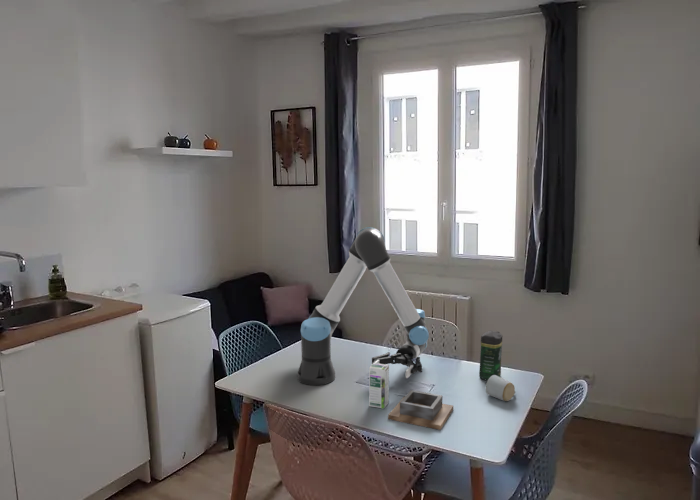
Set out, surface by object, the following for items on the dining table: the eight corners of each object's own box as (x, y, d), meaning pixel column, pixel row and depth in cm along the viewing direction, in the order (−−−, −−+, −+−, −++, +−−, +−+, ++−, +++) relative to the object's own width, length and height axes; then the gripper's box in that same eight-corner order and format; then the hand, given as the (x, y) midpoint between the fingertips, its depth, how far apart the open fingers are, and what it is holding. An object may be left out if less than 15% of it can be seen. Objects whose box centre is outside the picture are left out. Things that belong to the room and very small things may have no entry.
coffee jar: (497, 383, 207) (498, 337, 205) (477, 379, 211) (478, 334, 208) (503, 374, 216) (504, 330, 213) (483, 371, 219) (485, 327, 217)
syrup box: (368, 406, 187) (368, 367, 185) (374, 400, 193) (374, 361, 191) (383, 409, 185) (384, 369, 183) (389, 402, 191) (389, 363, 189)
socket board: (388, 419, 178) (388, 403, 177) (404, 400, 192) (404, 385, 192) (440, 429, 170) (440, 413, 170) (453, 409, 185) (453, 394, 184)
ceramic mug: (503, 404, 188) (504, 384, 187) (484, 397, 195) (485, 377, 194) (520, 397, 195) (521, 377, 194) (501, 390, 201) (502, 370, 200)
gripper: (437, 367, 210) (421, 387, 191) (379, 358, 221) (358, 376, 202) (438, 349, 209) (421, 367, 190) (379, 340, 219) (358, 357, 200)
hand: (388, 371), depth 196 cm, fingers open, 13 cm apart
